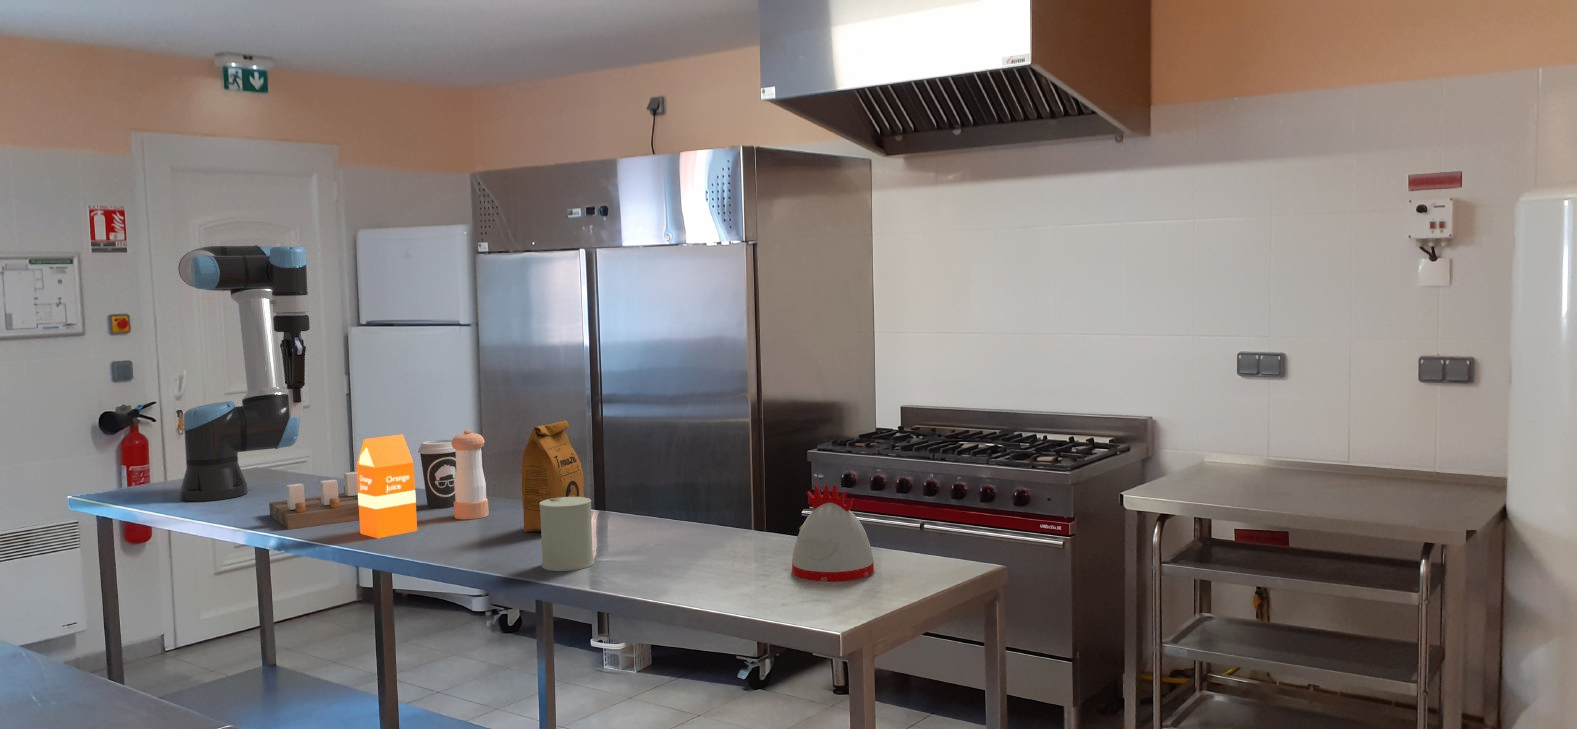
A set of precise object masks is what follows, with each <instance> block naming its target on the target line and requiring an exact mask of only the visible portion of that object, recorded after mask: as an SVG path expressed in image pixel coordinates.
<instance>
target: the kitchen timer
mask: <svg viewBox="0 0 1577 729" xmlns="http://www.w3.org/2000/svg"><path fill="white" fill-rule="evenodd" d="M846 493H847V492H846V490H844V491H842V493H841V494H839V491H838V485H837V484H836V483H835V484H833V486H832V491H831V492H830V488H829V483H827V484H826V483H825V485H824V489H823V494H822V493H821V490H820V487H819V485H818V484H815V485H814V495H813V494H812V492H811V491H810V490H809V491H806V494H807V498H808V500H809V502H810V503H811V506H812V507H813V511H812V512H810V514H809V515H808V516H807V517H806V519H804V523H803V524H802V525H801V526H800V527H799V528H798V529H799V533H798V535H797V537H796V538H797V539H796V542H795V545H794V549H793V553H792V562H791V572H792V574H793V576H795V577H796V578H799V579H802V580H805V581H811V582H812V581H814V582H825V583H826V582H829V583H834V582H837V583H838V582H848V581H855V580H860V579H864V578H866V577H869V576H871V575H873V573H874V570H875V568H874V563H875V562H874V554H873V550H872V547H871V544H870V541H869V537H868V535H867V532H866V530H865V528H864V526H863V524H862V523H861V521H860V519H859V518H858V517H857V516H856V515H855V513H854V512H852V511H851V508H852V506H853V503H854V497H852V498H851V499H850V500H849V501H848V503H847V504H845V498H846ZM839 495H840V496H839Z"/></svg>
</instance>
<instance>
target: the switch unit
mask: <svg viewBox="0 0 1577 729" xmlns="http://www.w3.org/2000/svg"><path fill="white" fill-rule="evenodd" d="M343 490H344V491H343V492H342V493H338V498H332V499H329V502H330V505H323V504H322V503H321V495H317V496H311V497H310V496H309V497H305V502H300V503H295V509H293V510H290V509H289V508H288V503H287V499H286V500H279V501H272V502H271V501H270V502H268V504H269V505H268V506H269V516H270V517H271V518H273V519H274V520H275V521H276V522H278V523H279V524H280V525H281V526H283V527H285V528H286V530H293V529H294V530H295V529H303V528H309V527H315V526H316V527H317V526H322V525H330V524H331V525H332V524H337V523H346V522H352V521H360V516H359V504H358V495H354V496H347V495H345V486H344V485H343Z"/></svg>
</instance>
